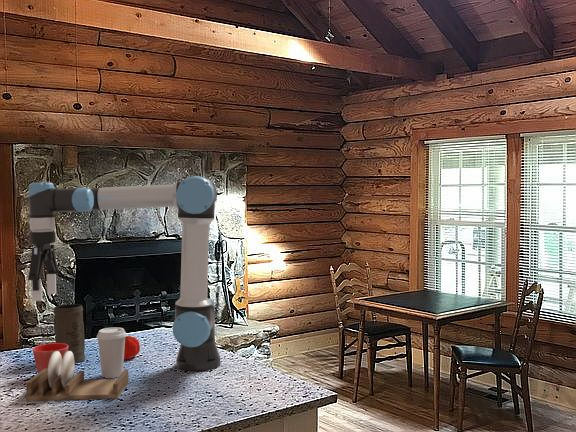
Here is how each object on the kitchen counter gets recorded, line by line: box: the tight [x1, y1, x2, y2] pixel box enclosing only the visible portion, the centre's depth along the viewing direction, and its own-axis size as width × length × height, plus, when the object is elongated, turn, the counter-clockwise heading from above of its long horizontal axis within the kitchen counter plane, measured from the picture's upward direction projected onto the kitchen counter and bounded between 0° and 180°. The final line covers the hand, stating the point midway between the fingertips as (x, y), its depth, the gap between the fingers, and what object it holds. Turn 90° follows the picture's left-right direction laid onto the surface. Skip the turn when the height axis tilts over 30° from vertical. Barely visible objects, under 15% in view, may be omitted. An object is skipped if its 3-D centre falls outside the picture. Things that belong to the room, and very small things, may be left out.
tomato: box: [124, 335, 141, 360], centre depth 227 cm, size 9×9×8 cm
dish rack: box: [25, 351, 130, 402], centre depth 189 cm, size 26×15×12 cm, turn 92°
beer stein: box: [53, 303, 86, 364], centre depth 226 cm, size 15×11×20 cm
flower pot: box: [32, 342, 69, 374], centre depth 205 cm, size 11×11×10 cm
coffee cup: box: [96, 327, 128, 379], centre depth 205 cm, size 10×10×15 cm
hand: (44, 297), depth 200 cm, fingers open, 13 cm apart
